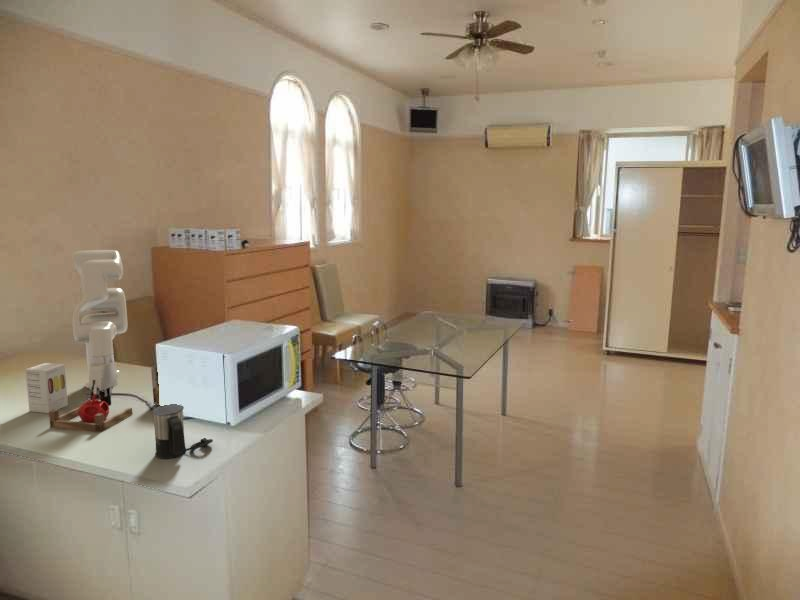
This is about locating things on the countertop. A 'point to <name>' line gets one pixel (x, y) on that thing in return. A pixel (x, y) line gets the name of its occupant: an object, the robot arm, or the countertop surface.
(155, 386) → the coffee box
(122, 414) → the display stand
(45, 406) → the supplement box
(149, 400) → the countertop surface
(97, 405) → the red tomato
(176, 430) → the milk frother
